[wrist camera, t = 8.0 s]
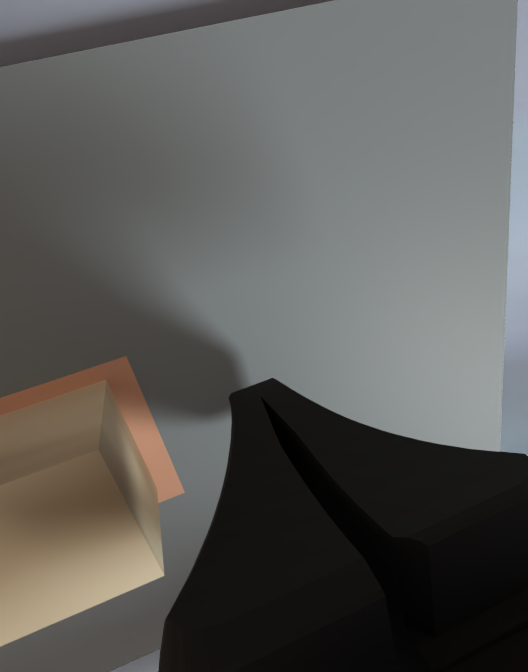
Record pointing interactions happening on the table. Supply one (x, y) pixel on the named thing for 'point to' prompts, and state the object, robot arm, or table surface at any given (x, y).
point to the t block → (72, 510)
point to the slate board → (256, 247)
